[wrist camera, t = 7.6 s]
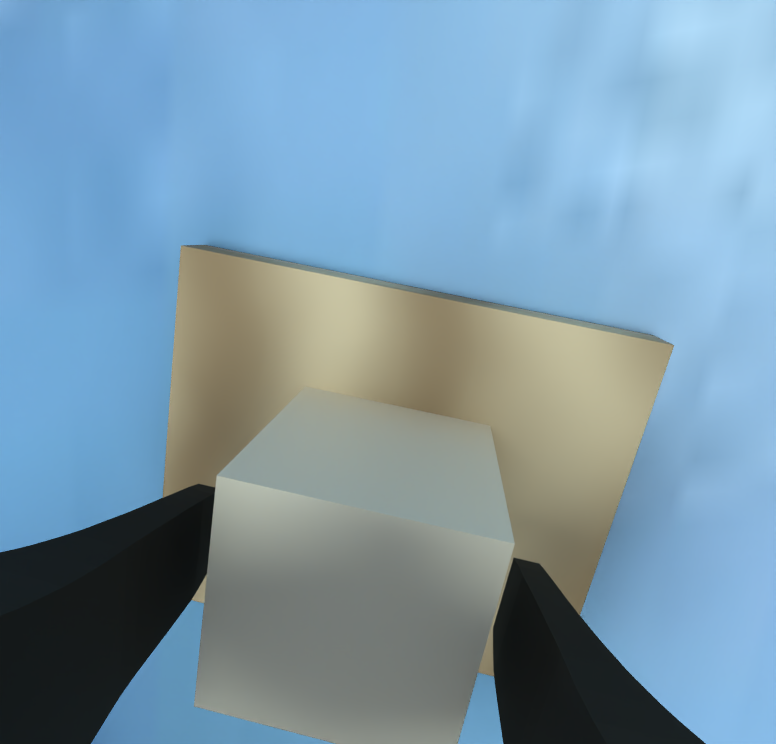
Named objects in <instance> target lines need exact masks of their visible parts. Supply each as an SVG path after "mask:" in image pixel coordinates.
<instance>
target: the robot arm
mask: <svg viewBox="0 0 776 744" xmlns="http://www.w3.org/2000/svg"><path fill="white" fill-rule="evenodd" d="M214 497H215V487H211V486H207V485H203V484H196V485H193V486H190V487H187V488H185V489H183V490H180V491H178V492H175V493H173V494H171V495H168V496H166V497H164V498H161V499H159V500H157V501H154V502H152V503H150V504H147V505H145V506H142V507H140V508H138V509H135V510H133V511H130V512H128V513H126V514H123V515H120V516H118V517H115V518H112V519H110V520H107V521H104V522H102V523H99V524H96V525H94V526H91V527H88V528H86V529H83V530H80V531H77V532H74V533H71V534H68V535H65V536H61V537H58V538H55V539H51V540H48V541H44V542H41V543H37V544H34V545H30V546H26V547H23V548H18V549H14V550H9V551H5V552H0V744H91V742H92V741H93V739H94V737H95V736H96V734H97V733H98V731H99V729H100V728H101V726H102V725H103V723H104V721H105V720H106V718H107V716H108V715H109V713H110V712H111V710H112V708H113V707H114V705H115V703H116V702H117V700H118V699H119V697H120V696H121V694H122V693H123V691H124V690H125V688H126V687H127V686H128V684H129V683H130V681H131V680H132V678H133V677H134V676H135V674H136V673H137V672H138V670H139V669H140V668H141V666H142V665H143V664H144V662H145V661H146V660H147V658H148V657H149V656H150V654H151V653H152V652H153V651H154V649H155V648H156V647H157V645H158V644H159V643H160V641H161V640H162V639H163V637H164V636H165V635H166V633H167V632H168V631H169V629H170V628H171V627H172V625H173V624H174V623H175V621H176V620H177V619H178V617H179V616H180V615H181V613H182V612H183V611H184V609H185V608H186V606H187V605H188V604H189V602H190V601H191V600H192V598H193V597H194V595H195V594H196V592H197V590H198V588H199V587H200V585H201V583H202V582H203V580H204V578H205V576H206V574H207V569H208V558H209V548H210V538H211V528H212V518H213V507H214ZM493 671H494V679H495V687H496V694H497V702H498V709H499V716H500V723H501V730H502V737H503V744H705V743H704V742H703V741H702V740H701V739H700V738H698V737H697V736H696V735H695V734H694V733H693V732H691V731H690V730H689V729H688V728H687V727H686V726H684V725H683V724H682V723H681V722H680V721H679V720H678V719H676V718H675V717H674V716H673V715H672V714H671V713H670V712H669V711H668V710H667V709H665V708H664V707H663V706H662V705H661V704H660V703H659V702H658V701H657V700H656V699H655V698H654V697H653V696H652V695H651V694H650V693H649V692H648V691H647V690H646V689H645V688H644V687H643V686H642V685H641V684H640V683H639V682H638V681H637V680H636V679H635V678H634V677H633V676H632V675H631V674H630V673H629V672H628V671H627V670H626V669H625V668H624V667H623V666H622V664H621V663H620V662H619V661H618V660H617V659H616V658H615V657H614V655H613V654H612V653H611V652H610V651H609V650H608V649H607V648H606V646H605V645H604V644H603V643H602V642H601V641H600V640H599V638H598V637H597V636H596V635H595V634H594V632H593V631H592V630H591V629H590V628H589V626H588V625H587V624H586V623H585V621H584V620H583V619H582V618H581V616H580V615H579V614H578V613H577V611H576V610H575V609H574V607H573V606H572V605H571V604H570V602H569V601H568V600H567V598H566V597H565V596H564V594H563V593H562V592H561V590H560V589H559V588H558V586H557V585H556V584H555V583H554V581H553V580H552V579H551V577H550V576H549V575H548V573H547V572H546V571H545V569H544V568H543V567H542V566H541V565H540V563H535V562H531V561H527V560H523V559H518V558H513V562H512V565H511V568H510V572H509V575H508V578H507V582H506V585H505V589H504V592H503V595H502V599H501V602H500V606H499V609H498V612H497V616H496V619H495V623H494V626H493Z"/></svg>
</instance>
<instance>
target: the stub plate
mask: <svg viewBox="0 0 776 744" xmlns="http://www.w3.org/2000/svg"><path fill="white" fill-rule="evenodd" d="M673 347H674V345H672V344H670V343H668V342H666V341H664V340H662V339H660V338H658V337H656V336H653V335H649V334H644V333H639V332H634V331H629V330H624V329H619V328H614V327H609V326H604V325H600V324H595V323H590V322H585V321H580V320H575V319H570V318H565V317H560V316H555V315H550V314H545V313H540V312H535V311H530V310H525V309H520V308H515V307H510V306H505V305H500V304H495V303H490V302H485V301H480V300H476V299H471V298H466V297H461V296H456V295H451V294H446V293H441V292H436V291H431V290H426V289H421V288H416V287H411V286H406V285H401V284H396V283H391V282H386V281H381V280H376V279H371V278H366V277H361V276H356V275H351V274H347V273H342V272H337V271H332V270H327V269H322V268H317V267H312V266H307V265H302V264H297V263H292V262H287V261H282V260H277V259H272V258H267V257H262V256H257V255H252V254H247V253H242V252H237V251H232V250H227V249H223V248H218V247H213V246H208V245H184V246H181V253H180V267H179V280H178V294H177V308H176V322H175V335H174V349H173V363H172V377H171V390H170V404H169V418H168V432H167V446H166V459H165V473H164V487H163V498H164V497H166V496H168V495H171V494H173V493H175V492H178V491H180V490H183V489H185V488H187V487H190V486H193V485H196V484H203V485H207V486H211V487H216V477H217V475H218V474H219V473H220V472H221V471H222V470H223V469H224V468H225V467H226V466H227V465H228V464H229V463H230V462H231V461H232V460H233V459H234V458H235V457H236V456H237V455H238V454H239V453H240V452H241V451H242V450H243V449H244V448H245V447H246V446H247V445H248V444H249V443H250V442H251V441H252V440H253V439H254V438H255V437H256V436H257V435H258V434H259V433H260V432H261V431H262V430H263V429H264V428H265V427H266V426H267V425H268V424H269V423H270V422H271V421H272V420H273V419H274V418H275V417H276V416H277V415H278V414H279V413H280V412H281V411H282V410H283V409H284V408H285V407H286V406H287V405H288V404H289V403H290V402H291V400H292V399H293V398H294V397H295V396H296V395H297V394H298V393H299V392H300V391H301V390H302V389H303V388H304V387H305V386H306V387H311V388H316V389H320V390H325V391H330V392H334V393H339V394H344V395H348V396H353V397H358V398H362V399H367V400H372V401H377V402H381V403H386V404H391V405H395V406H400V407H405V408H409V409H414V410H419V411H424V412H428V413H433V414H438V415H442V416H447V417H452V418H456V419H461V420H466V421H471V422H475V423H480V424H485V425H489V426H491V431H492V436H493V441H494V446H495V451H496V455H497V460H498V465H499V470H500V475H501V480H502V484H503V489H504V494H505V499H506V504H507V509H508V513H509V518H510V523H511V528H512V533H513V538H514V542H515V545H514V548H513V552H512V555H511V559H510V562H509V566H508V569H507V573H506V576H505V580H504V583H503V587H502V590H501V594H500V597H499V601H498V604H497V608H496V611H495V615H494V618H493V622H492V625H491V628H490V632H489V635H488V639H487V642H486V646H485V649H484V653H483V656H482V660H481V663H480V667H479V670H478V672H479V673H483V674H487V675H490V676H494V671H493V626H494V623H495V619H496V616H497V612H498V609H499V606H500V602H501V599H502V595H503V592H504V589H505V585H506V582H507V578H508V575H509V572H510V568H511V565H512V562H513V558H518V559H523V560H527V561H531V562H535V563H540V565H541V566H542V567H543V568H544V569H545V571H546V572H547V573H548V575H549V576H550V577H551V579H552V580H553V581H554V583H555V584H556V585H557V586H558V588H559V589H560V590H561V592H562V593H563V594H564V596H565V597H566V598H567V600H568V601H569V602H570V604H571V605H572V606H573V607H574V609H575V610H576V611H577V613H578V614H579V615H580V613H581V610H582V607H583V605H584V602H585V599H586V596H587V593H588V590H589V587H590V585H591V582H592V579H593V576H594V573H595V570H596V567H597V565H598V562H599V559H600V556H601V553H602V550H603V547H604V545H605V542H606V539H607V536H608V533H609V530H610V527H611V524H612V522H613V519H614V516H615V513H616V510H617V507H618V504H619V502H620V499H621V496H622V493H623V490H624V487H625V484H626V482H627V479H628V476H629V473H630V470H631V467H632V464H633V462H634V459H635V456H636V453H637V450H638V447H639V444H640V442H641V439H642V436H643V433H644V430H645V427H646V424H647V421H648V419H649V416H650V413H651V410H652V407H653V404H654V401H655V399H656V396H657V393H658V390H659V387H660V384H661V381H662V379H663V376H664V373H665V370H666V367H667V364H668V361H669V359H670V356H671V353H672V350H673ZM206 579H207V574H206V576H205V578H204V580H203V582H202V583H201V585H200V587H199V588H198V590H197V592H196V594H195V595H194V597H193V598H192V600H193V601H197V602H201V603H204V599H205V589H206Z"/></svg>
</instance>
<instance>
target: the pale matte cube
mask: <svg viewBox="0 0 776 744" xmlns="http://www.w3.org/2000/svg"><path fill="white" fill-rule="evenodd" d="M514 545H515V542H514V538H513V533H512V528H511V523H510V518H509V513H508V509H507V504H506V499H505V494H504V489H503V484H502V480H501V475H500V470H499V465H498V460H497V455H496V451H495V446H494V441H493V436H492V431H491V426H489V425H485V424H480V423H475V422H471V421H466V420H461V419H456V418H452V417H447V416H442V415H438V414H433V413H428V412H424V411H419V410H414V409H409V408H405V407H400V406H395V405H391V404H386V403H381V402H377V401H372V400H367V399H362V398H358V397H353V396H348V395H344V394H339V393H334V392H330V391H325V390H320V389H316V388H311V387H306V386H305V387H304V388H303V389H302V390H301V391H300V392H299V393H298V394H297V395H296V396H295V397H294V398H293V399H292V400H291V402H290V403H289V404H288V405H287V406H286V407H285V408H284V409H283V410H282V411H281V412H280V413H279V414H278V415H277V416H276V417H275V418H274V419H273V420H272V421H271V422H270V423H269V424H268V425H267V426H266V427H265V428H264V429H263V430H262V431H261V432H260V433H259V434H258V435H257V436H256V437H255V438H254V439H253V440H252V441H251V442H250V443H249V444H248V445H247V446H246V447H245V448H244V449H243V450H242V451H241V452H240V453H239V454H238V455H237V456H236V457H235V458H234V459H233V460H232V461H231V462H230V463H229V464H228V465H227V466H226V467H225V468H224V469H223V470H222V471H221V472H220V473H219V474H218V475H217V477H216V487H215V497H214V507H213V518H212V528H211V538H210V548H209V558H208V569H207V579H206V589H205V599H204V610H203V620H202V630H201V640H200V651H199V661H198V671H197V681H196V691H195V702H194V706H195V707H198V708H202V709H206V710H210V711H214V712H217V713H221V714H225V715H229V716H233V717H236V718H240V719H244V720H248V721H252V722H255V723H259V724H263V725H267V726H271V727H274V728H278V729H282V730H286V731H290V732H294V733H297V734H301V735H305V736H309V737H313V738H316V739H320V740H324V741H328V742H332V743H335V744H458V740H459V737H460V733H461V730H462V726H463V723H464V719H465V716H466V712H467V709H468V705H469V702H470V698H471V695H472V691H473V688H474V684H475V681H476V677H477V674H478V670H479V667H480V663H481V660H482V656H483V653H484V649H485V646H486V642H487V639H488V635H489V632H490V628H491V625H492V622H493V618H494V615H495V611H496V608H497V604H498V601H499V597H500V594H501V590H502V587H503V583H504V580H505V576H506V573H507V569H508V566H509V562H510V559H511V555H512V552H513V548H514Z"/></svg>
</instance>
